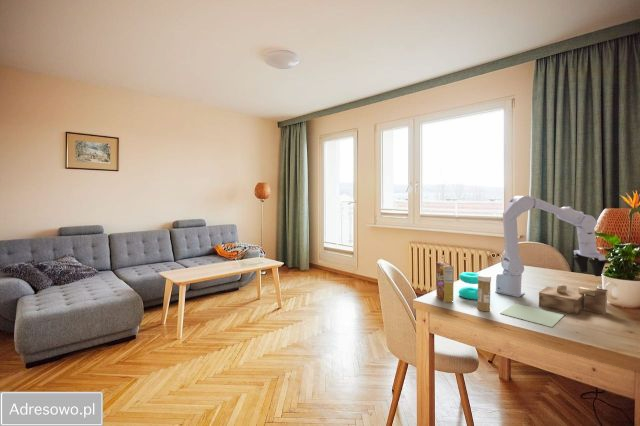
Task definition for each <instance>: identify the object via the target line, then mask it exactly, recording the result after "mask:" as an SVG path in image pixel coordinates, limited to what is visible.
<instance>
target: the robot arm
mask: <svg viewBox="0 0 640 426" xmlns="http://www.w3.org/2000/svg"><path fill="white" fill-rule="evenodd" d="M507 203H508V204H506V205H507V206H506V207H505V209H504V210H503V212H502V221H503V224H502V225H503V237H504V239H503V241H504V253H503V255H502V257H503V258H502V260H501V268H502V269H503V271H502V272H501V271H499V272H497V274H496V279H495V291H494V293H498V294H503V295H507V296H511V297H517V298H520V297H521V296H523V295H525V292H524V291H522V279H523V278H522V277H523V276H522V274H523V273H524V271H525V265H524V264H523V262H522V257H521V255H520V253H519V250H520V249H519V237H518V232H519V231H518V221H517V220H518V217H520V216H521V215H522V214H523V213H525V212H528V211H530V210H532V209H539V210H543V211H544V212H545V211H546V212H547V213H548V212H549V213H551V214H554V215H555V216H556V218H557V219H559V220H560V221H563V222H566V223H568V224H571V225H573V226H574V227H576V232H577V233H576V234H577V242H578V249H575V250H573V256H572V259H573V260H574V261H575V262H576V264H577V266H578V268H579V270H580V272H581V273H587V272H588V270H589V269H588V262H589V263H590V265H591V267H592V270H593V274H594V276H595V277H602V276H603V271H604V267H605V265H606V264H607V262H608V259H606V254H603V253H600V252H601V251H598V247H597V240H596V239H597V238H596V232H595V229H596V228H595V227H596V226H597V225H598V221H597V220H596V218H595V217H594V216H593V215H591V214H590V215H589V214H584V213H585V212H584V211H577V210H575V209H573V207H572V206H562V207H559V206H556V205H554V204H552V203H550V202H547V201H545V200H542V199H540V198H537V197H532V196H529V195H515V196H513V198H511V199H509V200H508V202H507ZM589 258H591V259H589ZM601 274H602V275H601Z"/></svg>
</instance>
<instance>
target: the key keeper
mask: <svg viewBox="0 0 640 426" xmlns="http://www.w3.org/2000/svg"><path fill="white" fill-rule="evenodd" d="M594 290H595V296H592V295H587V294H584V296H585V297H584V308H583V311H586V312H587V311H588V312H591V313H592V312H593V313H596V314H601V315H606V313H607V309H608V308H607V304H608V296H607V297H606V292H607V293H608V289H603V288H598V287H597V288H596V289H594ZM605 291H606V292H605Z"/></svg>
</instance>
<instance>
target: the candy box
mask: <svg viewBox="0 0 640 426" xmlns="http://www.w3.org/2000/svg"><path fill="white" fill-rule="evenodd" d="M454 273H455V272H454V266H453V265H451V264H449V263H447V262H446V261H436V296H437V298H439V299H440V300H441V299H442V300H443V301H444V302H452V301H453V302H454V278H455V277H454V275H455V274H454ZM442 300H441V301H442ZM443 301H442V302H443ZM444 302H443V303H444Z"/></svg>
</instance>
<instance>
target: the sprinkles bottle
mask: <svg viewBox="0 0 640 426" xmlns="http://www.w3.org/2000/svg"><path fill="white" fill-rule="evenodd" d="M491 282H492V276H491V275H489V274H485V273H484V274H483V273H479V275H478V284H477V288H478V300H477V307H476V308H477V310H479V311H482V312H489V311H491Z"/></svg>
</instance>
